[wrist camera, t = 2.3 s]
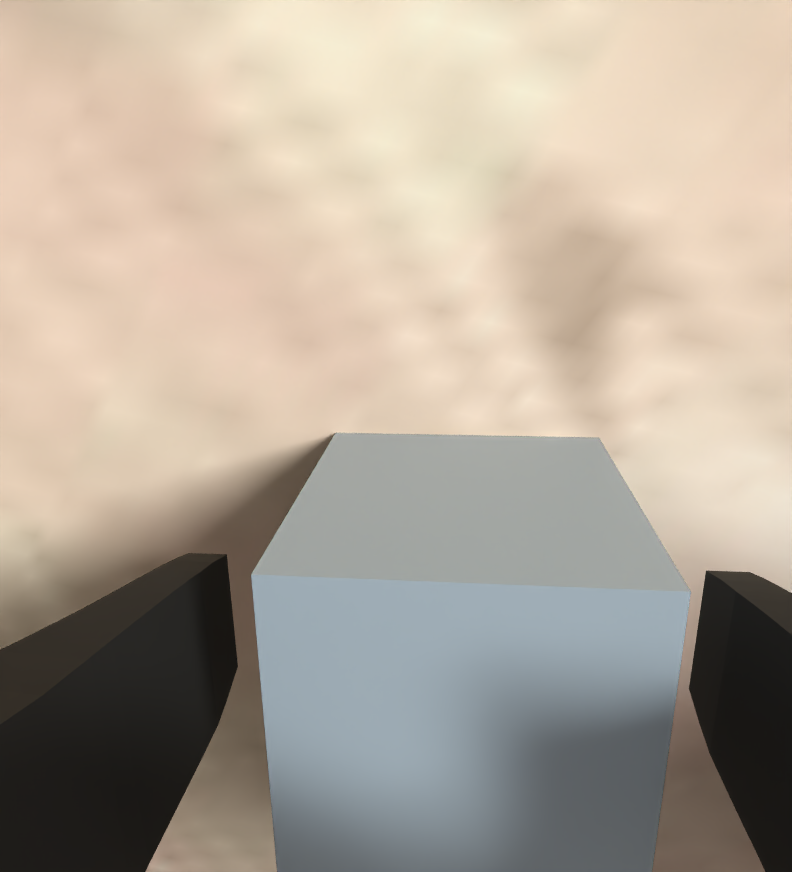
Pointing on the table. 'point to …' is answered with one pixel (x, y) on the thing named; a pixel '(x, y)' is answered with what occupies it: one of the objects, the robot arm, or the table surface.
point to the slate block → (467, 659)
